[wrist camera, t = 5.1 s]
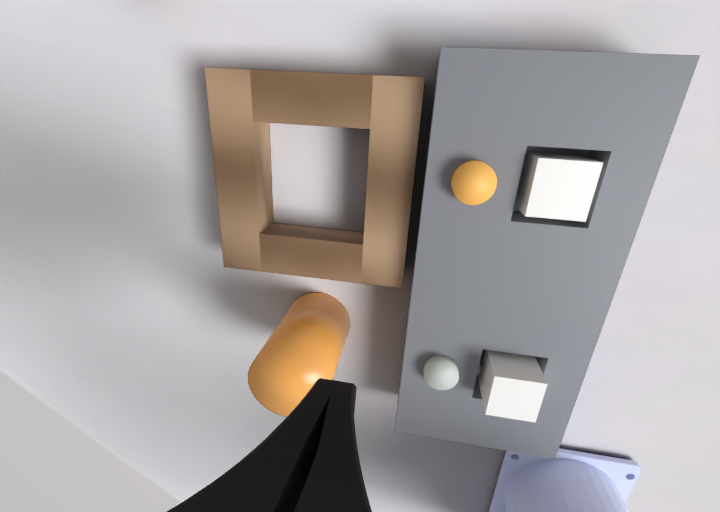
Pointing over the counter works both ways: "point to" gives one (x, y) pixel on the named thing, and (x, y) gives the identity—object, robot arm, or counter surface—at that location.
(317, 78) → the frame
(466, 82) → the breaker panel
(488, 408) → the block
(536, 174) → the white cube
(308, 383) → the cap
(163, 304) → the counter surface
